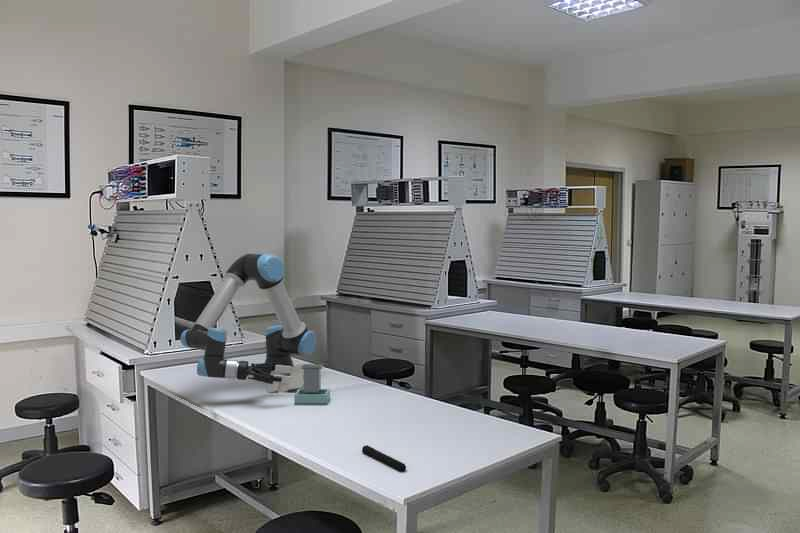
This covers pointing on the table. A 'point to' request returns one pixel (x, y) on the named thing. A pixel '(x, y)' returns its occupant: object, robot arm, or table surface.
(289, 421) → the table surface
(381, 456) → the gadget
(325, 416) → the table surface
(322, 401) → the tray
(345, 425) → the table surface
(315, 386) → the brushed metal pillar
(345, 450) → the table surface
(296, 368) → the wall
